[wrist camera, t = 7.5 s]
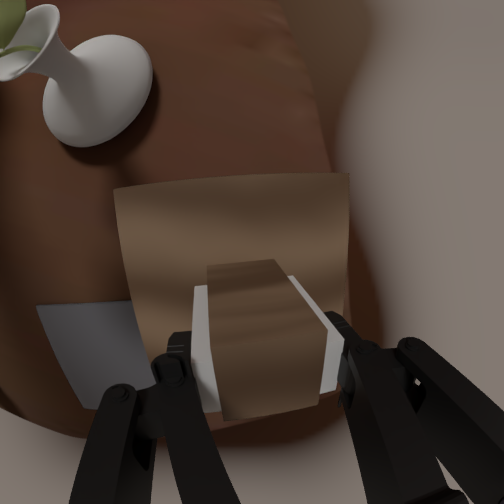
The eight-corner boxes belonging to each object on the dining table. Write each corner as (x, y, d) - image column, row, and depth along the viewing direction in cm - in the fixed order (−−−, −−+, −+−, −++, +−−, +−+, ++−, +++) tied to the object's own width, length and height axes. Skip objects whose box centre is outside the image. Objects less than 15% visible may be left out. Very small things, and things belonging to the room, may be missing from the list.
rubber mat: (37, 305, 24) (35, 306, 24) (168, 297, 26) (167, 299, 26) (84, 406, 29) (83, 408, 29) (195, 408, 31) (195, 410, 31)
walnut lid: (119, 188, 15) (35, 210, 6) (340, 172, 17) (445, 184, 8) (158, 373, 19) (145, 472, 10) (330, 351, 21) (384, 431, 12)
